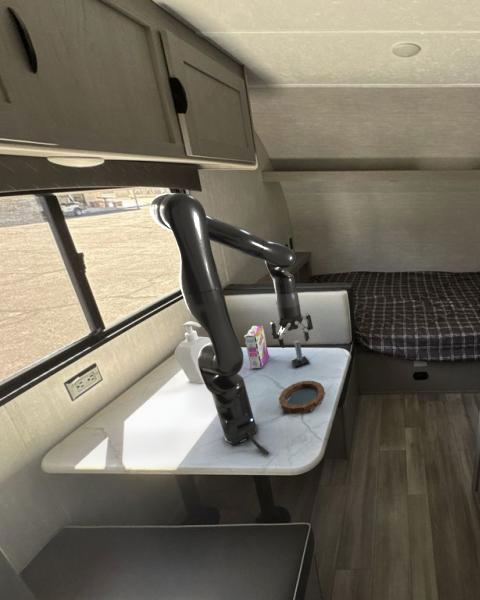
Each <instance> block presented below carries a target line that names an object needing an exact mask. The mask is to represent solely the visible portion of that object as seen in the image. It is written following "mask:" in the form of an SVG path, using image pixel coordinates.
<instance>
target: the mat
mask: <svg viewBox="0 0 480 600" xmlns="http://www.w3.org/2000/svg"><path fill="white" fill-rule="evenodd" d="M317 395H318V391H317V390H316V389H313V388H301V389H299V390H296V391H294V392H292V393H291V394H290V395H289V398H288V400H287V403H290V404H293V405H297V404H304V403H307V402H309V401H312V400H313V399H314V398H315V397H316V396H317ZM312 410H313V409H310V410H308V411H305V412H304V411H303V412H302V413H312ZM282 412H283V414H293V413H292V412H291V413H290V412H287V411H285V410H283V409H282Z"/></svg>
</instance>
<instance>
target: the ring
mask: <svg viewBox="0 0 480 600" xmlns="http://www.w3.org/2000/svg"><path fill="white" fill-rule="evenodd" d="M301 388H313V389H316V390H317V391H318V395H317V396H316V397H315V398H314V399H313V400H312V401H309V402H307V403H304V404H297V405H293V404H290V403H287V402H288V400H287V399H288V397H290V396H291V394H292V392H294V391H296V390H299V389H301ZM325 394H326V391H325V388H324V386H323V384H322V383H320V382H318V381H315V380H302V381H297V382H295V383H292V384H290V385H288V387H286V388H285V389H283V390H282V391H281V393H280V394H279V397H278V403H279V406H280V407H281V409H282V411H283V410H285V411H287V412H290V413H289V414H297V413H306V412H305V411H308V410H310V409H312V410H313V409H315V408H317V406H319V405H320V403H322V402H323V400H324V398H325ZM303 411H304V412H303ZM291 412H292V413H291Z"/></svg>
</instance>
